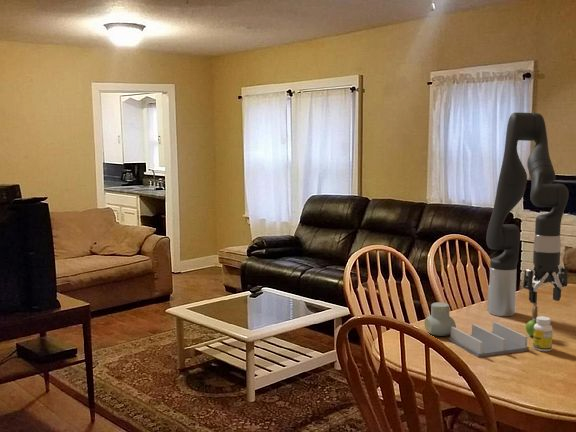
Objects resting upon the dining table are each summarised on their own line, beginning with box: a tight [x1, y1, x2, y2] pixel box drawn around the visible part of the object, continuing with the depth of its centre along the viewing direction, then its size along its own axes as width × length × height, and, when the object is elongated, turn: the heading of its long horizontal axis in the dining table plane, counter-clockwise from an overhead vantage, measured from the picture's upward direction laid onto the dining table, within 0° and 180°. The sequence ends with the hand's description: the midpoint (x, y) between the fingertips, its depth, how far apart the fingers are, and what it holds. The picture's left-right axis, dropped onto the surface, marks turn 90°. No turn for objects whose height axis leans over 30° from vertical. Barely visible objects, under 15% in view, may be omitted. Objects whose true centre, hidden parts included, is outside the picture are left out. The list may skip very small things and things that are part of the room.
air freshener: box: [423, 301, 457, 337], centre depth 202 cm, size 11×8×10 cm
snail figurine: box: [525, 302, 539, 337], centre depth 199 cm, size 5×6×12 cm
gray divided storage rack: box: [448, 321, 530, 358], centre depth 190 cm, size 16×18×4 cm
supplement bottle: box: [532, 315, 553, 352], centre depth 187 cm, size 5×5×10 cm
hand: (544, 301), depth 185 cm, fingers open, 8 cm apart
